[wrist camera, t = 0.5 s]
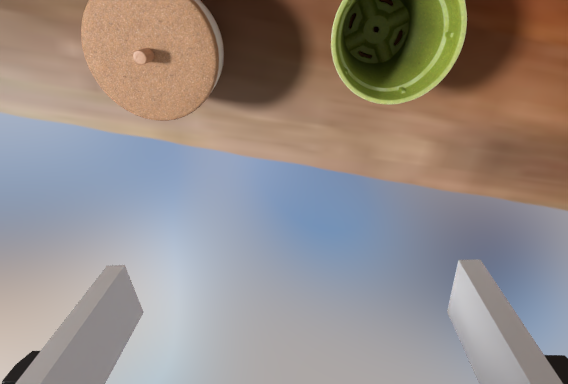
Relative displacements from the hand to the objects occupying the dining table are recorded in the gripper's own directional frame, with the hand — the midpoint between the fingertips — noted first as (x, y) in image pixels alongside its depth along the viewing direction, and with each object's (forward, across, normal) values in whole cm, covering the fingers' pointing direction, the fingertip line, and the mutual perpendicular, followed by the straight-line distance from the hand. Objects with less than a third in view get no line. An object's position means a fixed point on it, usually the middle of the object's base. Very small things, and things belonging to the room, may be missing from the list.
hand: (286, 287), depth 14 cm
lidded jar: (+25, -11, +8) cm, 29 cm away
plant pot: (+26, +7, +7) cm, 28 cm away
